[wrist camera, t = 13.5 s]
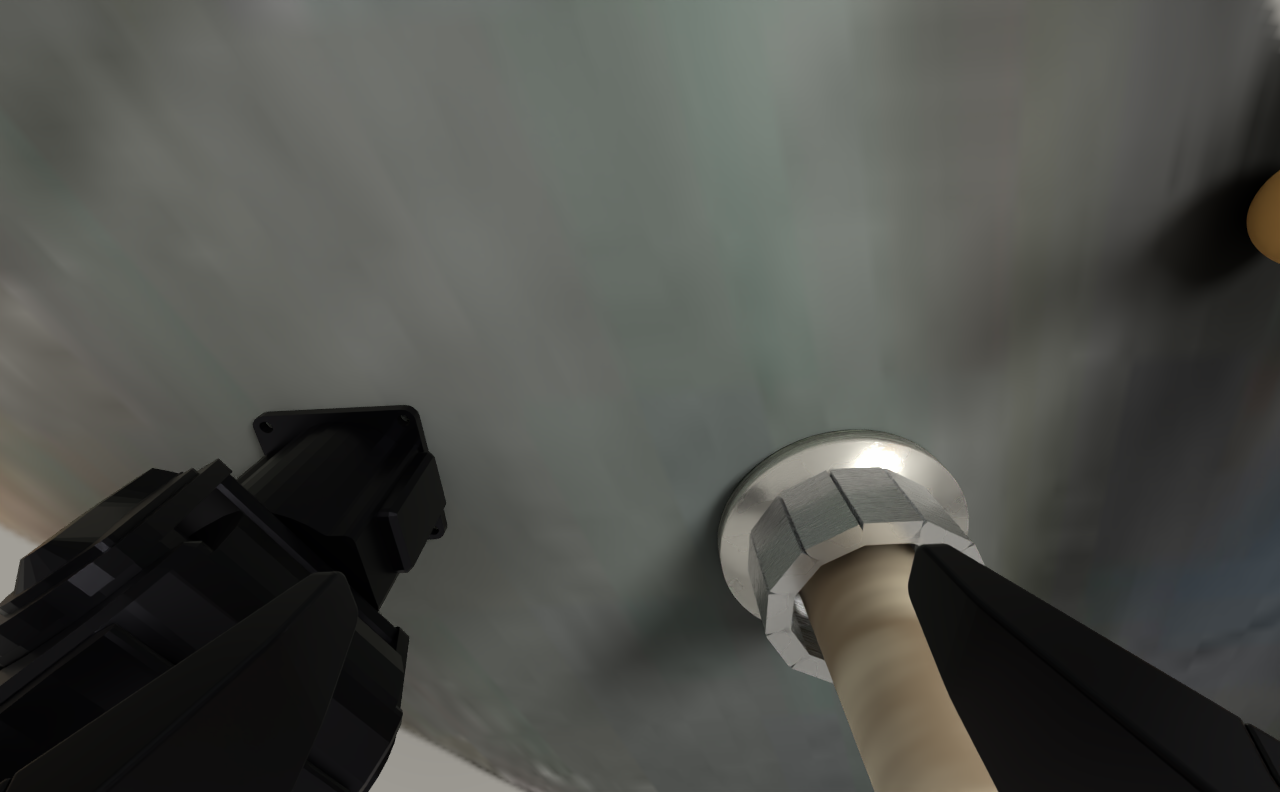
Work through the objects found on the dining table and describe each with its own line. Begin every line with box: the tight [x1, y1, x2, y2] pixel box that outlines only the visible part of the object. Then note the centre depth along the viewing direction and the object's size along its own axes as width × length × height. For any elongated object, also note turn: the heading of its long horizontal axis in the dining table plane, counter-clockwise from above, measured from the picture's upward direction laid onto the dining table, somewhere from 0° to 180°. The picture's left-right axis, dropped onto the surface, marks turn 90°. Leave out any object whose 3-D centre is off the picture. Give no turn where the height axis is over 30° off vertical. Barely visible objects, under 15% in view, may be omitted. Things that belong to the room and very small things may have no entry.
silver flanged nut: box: [717, 430, 985, 683], centre depth 22 cm, size 11×11×4 cm
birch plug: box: [799, 543, 998, 792], centre depth 18 cm, size 5×5×13 cm
